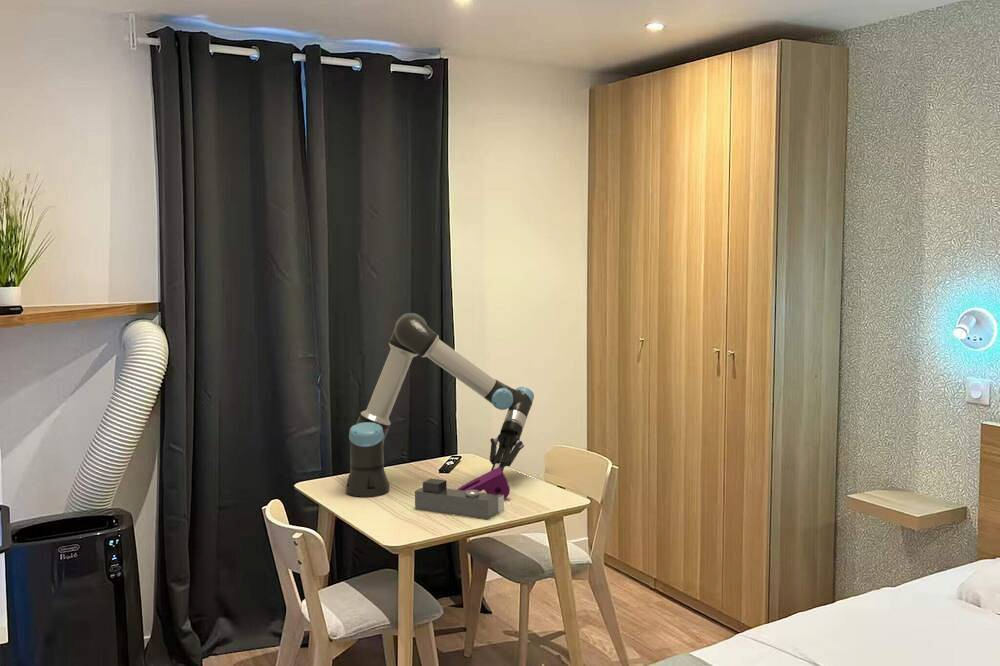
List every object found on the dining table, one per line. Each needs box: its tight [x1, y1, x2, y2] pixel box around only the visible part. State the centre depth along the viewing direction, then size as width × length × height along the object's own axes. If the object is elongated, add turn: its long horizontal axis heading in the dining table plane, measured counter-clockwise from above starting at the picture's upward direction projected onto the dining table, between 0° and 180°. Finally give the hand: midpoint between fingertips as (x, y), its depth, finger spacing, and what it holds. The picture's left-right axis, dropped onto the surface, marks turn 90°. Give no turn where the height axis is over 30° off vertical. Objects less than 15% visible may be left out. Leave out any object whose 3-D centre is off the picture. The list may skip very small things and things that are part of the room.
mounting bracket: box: [456, 467, 510, 500], centre depth 299 cm, size 9×8×18 cm
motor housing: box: [414, 478, 505, 520], centre depth 285 cm, size 27×11×9 cm, turn 63°
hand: (493, 481), depth 306 cm, fingers closed
